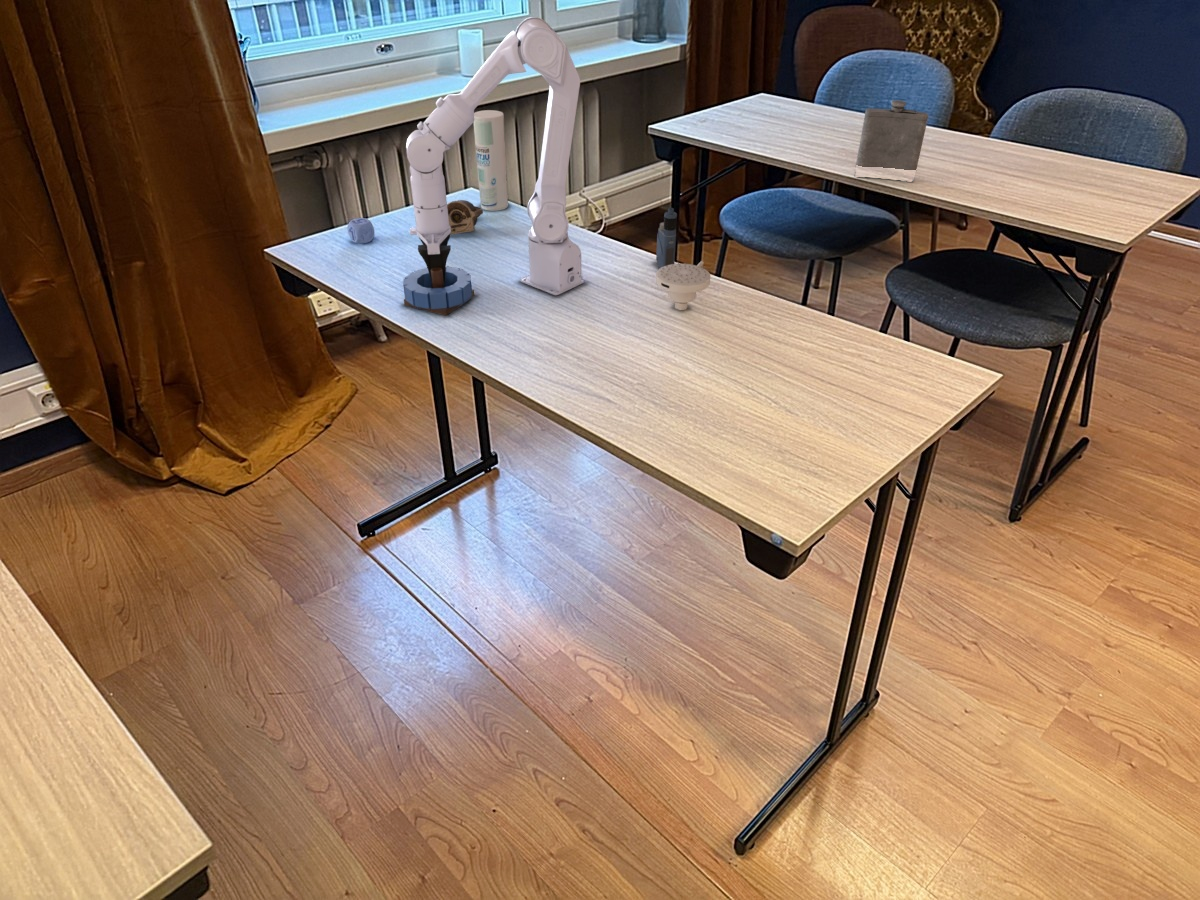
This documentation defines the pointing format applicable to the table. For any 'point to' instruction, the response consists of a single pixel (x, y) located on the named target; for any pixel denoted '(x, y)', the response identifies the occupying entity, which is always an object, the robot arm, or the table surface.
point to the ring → (437, 289)
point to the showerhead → (683, 282)
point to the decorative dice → (361, 230)
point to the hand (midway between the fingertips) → (438, 276)
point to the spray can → (491, 159)
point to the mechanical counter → (462, 216)
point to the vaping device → (666, 239)
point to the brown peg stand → (438, 283)
